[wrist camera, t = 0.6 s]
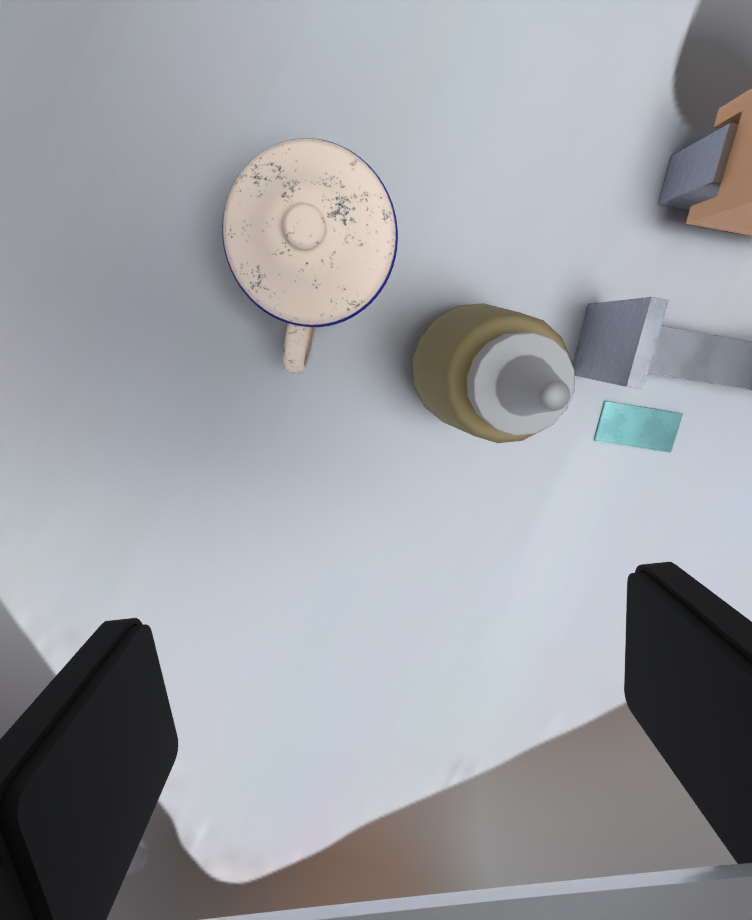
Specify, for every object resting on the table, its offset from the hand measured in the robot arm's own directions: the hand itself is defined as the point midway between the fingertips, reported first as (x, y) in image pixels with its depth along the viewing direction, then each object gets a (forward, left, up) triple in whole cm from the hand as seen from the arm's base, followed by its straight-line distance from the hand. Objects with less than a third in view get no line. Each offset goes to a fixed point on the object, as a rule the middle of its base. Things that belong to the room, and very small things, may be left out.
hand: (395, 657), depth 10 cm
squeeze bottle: (-5, +6, -29) cm, 30 cm away
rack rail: (-5, +24, -28) cm, 38 cm away
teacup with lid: (-9, -5, -29) cm, 30 cm away
